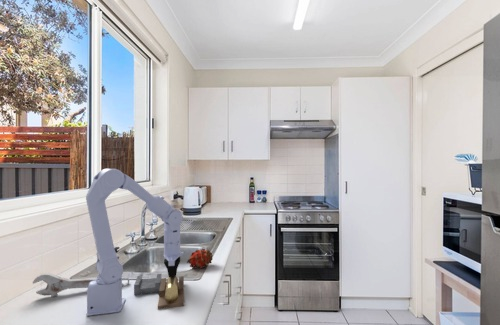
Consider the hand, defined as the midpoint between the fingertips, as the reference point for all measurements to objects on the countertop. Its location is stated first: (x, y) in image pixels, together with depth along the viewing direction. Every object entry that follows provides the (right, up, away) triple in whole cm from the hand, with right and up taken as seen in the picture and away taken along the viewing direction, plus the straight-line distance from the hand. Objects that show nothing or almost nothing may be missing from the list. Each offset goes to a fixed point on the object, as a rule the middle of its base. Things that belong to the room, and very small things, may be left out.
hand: (172, 278), depth 100 cm
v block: (-9, -4, 0) cm, 9 cm away
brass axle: (+2, -1, -7) cm, 7 cm away
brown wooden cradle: (+1, -4, -5) cm, 6 cm away
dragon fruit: (+7, -4, +19) cm, 21 cm away
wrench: (-31, -4, -2) cm, 31 cm away
